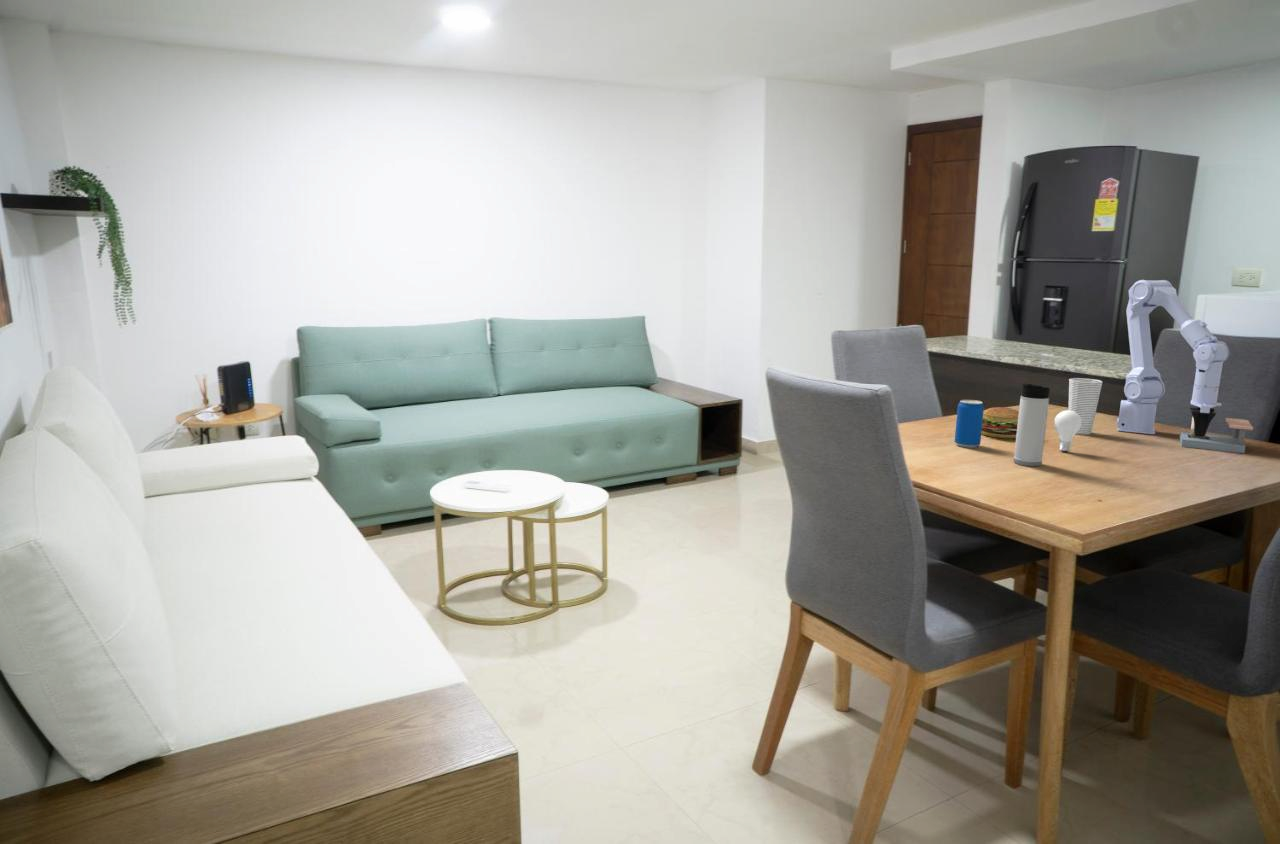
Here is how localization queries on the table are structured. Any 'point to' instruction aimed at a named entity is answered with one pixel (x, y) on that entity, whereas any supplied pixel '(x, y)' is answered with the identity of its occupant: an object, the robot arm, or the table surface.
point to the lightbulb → (1067, 428)
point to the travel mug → (1031, 425)
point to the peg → (1192, 434)
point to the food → (1000, 423)
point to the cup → (1084, 401)
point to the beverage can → (969, 423)
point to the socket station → (1220, 438)
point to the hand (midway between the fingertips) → (1198, 434)
